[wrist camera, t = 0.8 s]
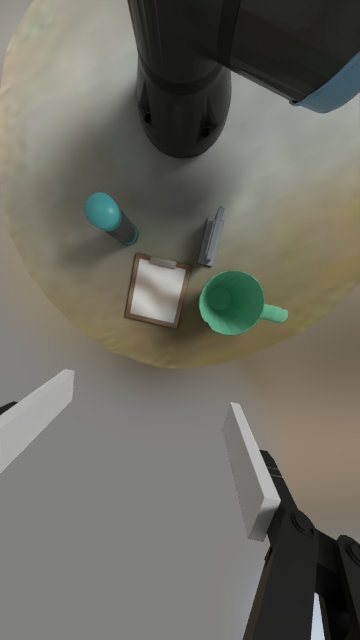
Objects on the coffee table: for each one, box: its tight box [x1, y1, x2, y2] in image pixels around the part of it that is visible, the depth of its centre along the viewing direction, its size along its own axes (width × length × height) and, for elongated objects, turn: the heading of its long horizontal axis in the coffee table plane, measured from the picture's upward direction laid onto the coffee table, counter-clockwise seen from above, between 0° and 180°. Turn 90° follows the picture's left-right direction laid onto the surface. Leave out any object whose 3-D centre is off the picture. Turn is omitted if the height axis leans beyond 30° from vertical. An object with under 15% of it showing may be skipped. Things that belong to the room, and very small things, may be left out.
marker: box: [85, 192, 138, 245], centre depth 29 cm, size 4×4×11 cm
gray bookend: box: [197, 207, 224, 266], centre depth 31 cm, size 8×3×6 cm, turn 167°
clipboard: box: [125, 253, 191, 329], centre depth 36 cm, size 13×11×1 cm
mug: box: [199, 270, 288, 335], centre depth 31 cm, size 15×10×10 cm
